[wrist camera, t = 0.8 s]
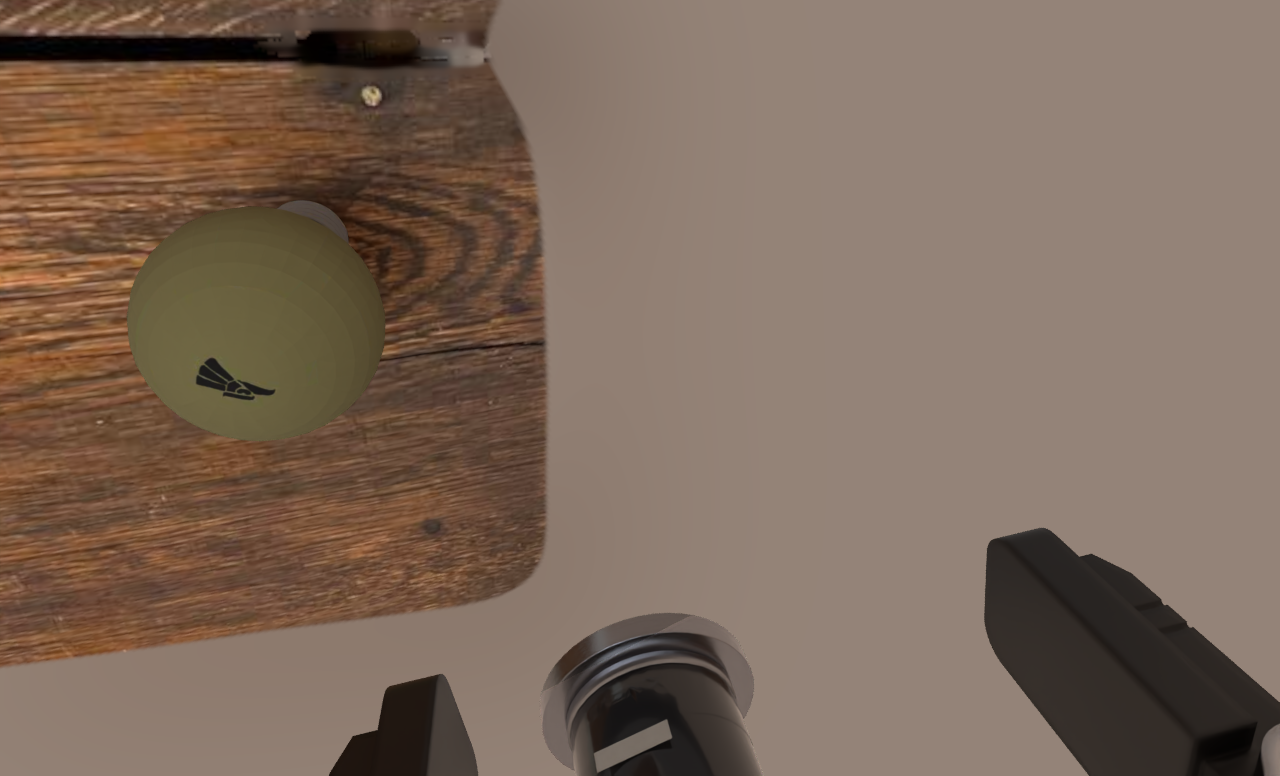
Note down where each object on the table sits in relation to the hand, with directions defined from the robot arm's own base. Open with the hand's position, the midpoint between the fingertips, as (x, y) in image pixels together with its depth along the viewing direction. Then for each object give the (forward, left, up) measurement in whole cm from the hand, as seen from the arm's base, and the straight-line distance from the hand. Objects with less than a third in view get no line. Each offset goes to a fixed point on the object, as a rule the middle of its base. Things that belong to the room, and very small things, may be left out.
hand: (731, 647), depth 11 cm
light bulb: (+4, +7, -19) cm, 20 cm away
